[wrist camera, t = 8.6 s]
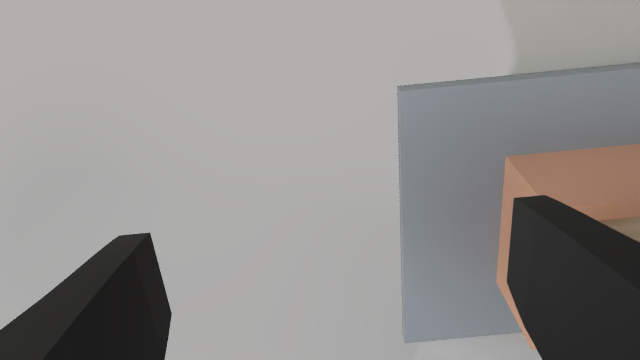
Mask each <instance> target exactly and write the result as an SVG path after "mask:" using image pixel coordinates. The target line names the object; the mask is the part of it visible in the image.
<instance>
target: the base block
mask: <svg viewBox="0 0 640 360" xmlns="http://www.w3.org/2000/svg"><path fill="white" fill-rule="evenodd" d="M539 195H546V196H549V197H551V198H553V199H556V200H558V201H560V202H562V203H564V204H566V205H568V206H570V207H572V208H574V209H576V210H578V211H580V212H582V213H584V214H586V215H588V216H589V217H591V218H593V219H595V220H597V221H600V220H610V219H621V218H631V217H640V144H631V145H620V146H610V147H599V148H589V149H578V150H568V151H557V152H547V153H537V154H526V155H516V156H506V158H505V172H504V185H503V198H502V212H501V225H500V238H499V251H498V265H497V278H496V283H497V285H498V287H499V289H500V290H501V292H502V294H503V296H504V298H505V300H506V302H507V304H508V306H509V307H510V309H511V311H512V313H513V315H514V317H515V319H516V321H517V323H518V324H519V326H520V328H521V330H522V332H523V334H524V336H525V338H526V340H527V341H528V343H529V345H530V347H531V349H536V347H535V345H534V343H533V342H532V340H531V338H530V336H529V334H528V332H527V331H526V329H525V327H524V325H523V323H522V320H521V318H520V315H519V313H518V310H517V308H516V306H515V303H514V300H513V298H512V295H511V292H510V290H509V287H508V284H507V271H508V259H509V247H510V236H511V224H512V212H513V201H514V198H518V197H529V196H539Z"/></svg>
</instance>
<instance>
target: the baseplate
mask: <svg viewBox="0 0 640 360" xmlns="http://www.w3.org/2000/svg"><path fill="white" fill-rule="evenodd" d="M397 95H398V139H399V140H398V142H399V186H400V187H399V188H400V231H401V280H402V326H403V337H404V341H405V343H414V342H424V341H434V340H445V339H455V338H466V337H476V336H486V335H497V334H507V333H518V332H522V330H521V328H520V326H519V324H518V323H517V321H516V319H515V317H514V315H513V313H512V311H511V309H510V307H509V306H508V304H507V302H506V300H505V298H504V296H503V294H502V292H501V290H500V289H499V287H498V285H497V283H496V278H497V265H498V251H499V238H500V225H501V212H502V198H503V185H504V172H505V158H506V156H516V155H526V154H537V153H547V152H557V151H568V150H578V149H589V148H599V147H610V146H620V145H631V144H640V63H634V64H623V65H613V66H602V67H592V68H581V69H571V70H560V71H550V72H540V73H529V74H519V75H508V76H499V77H487V78H477V79H467V80H456V81H446V82H435V83H425V84H414V85H404V86H397Z"/></svg>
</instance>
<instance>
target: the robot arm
mask: <svg viewBox="0 0 640 360" xmlns="http://www.w3.org/2000/svg"><path fill="white" fill-rule="evenodd" d="M507 284H508V287H509V290H510V292H511V295H512V298H513V300H514V303H515V306H516V308H517V310H518V313H519V315H520V318H521V320H522V323H523V325H524V327H525V329H526V331H527V332H528V334H529V336H530V338H531V340H532V342H533V343H534V345H535V347H536V349H537V351H538V352H539V354H540V356H541V358H542V360H640V242H638V241H636V240H634V239H632V238H630V237H628V236H626V235H624V234H622V233H620V232H618V231H616V230H614V229H613V228H611V227H609V226H607V225H605V224H603V223H601V222H599V221H597V220H595V219H593V218H591V217H589V216H588V215H586V214H584V213H582V212H580V211H578V210H576V209H574V208H572V207H570V206H568V205H566V204H564V203H562V202H560V201H558V200H556V199H553V198H551V197H549V196H546V195H539V196H529V197H518V198H514V201H513V212H512V224H511V236H510V247H509V259H508V271H507ZM170 321H171V310H170V306H169V302H168V299H167V295H166V291H165V287H164V284H163V280H162V276H161V272H160V269H159V265H158V261H157V257H156V254H155V250H154V246H153V242H152V238H151V235H150V233H142V234H132V235H123V236H118V237H117V238H116V239H114V240H112V241H111V242H110V243H109V244H107V245H106V246H105V247H104V248H102V249H101V250H100V251H99V252H97V253H96V254H95V255H94V256H93V257H91V258H90V259H89V260H88V261H87V262H85V263H84V264H83V265H82V266H81V267H79V268H78V269H77V270H76V271H75V272H73V273H72V274H71V275H70V276H69V277H67V278H66V279H65V280H64V281H63V282H62V283H60V284H59V285H58V286H56V287H55V288H54V289H53V290H52V291H51V292H49V293H48V294H47V295H45V296H44V297H43V298H42V299H41V300H39V301H38V302H37V303H35V304H34V305H33V306H31V307H30V308H29V309H27V310H26V311H25V312H23V313H22V314H21V315H19V316H18V317H17V318H16V319H14V320H13V321H12V322H10V323H9V324H8V325H6V326H5V327H4V328H3V329H1V330H0V360H164V359H165V353H166V347H167V341H168V335H169V328H170Z"/></svg>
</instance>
